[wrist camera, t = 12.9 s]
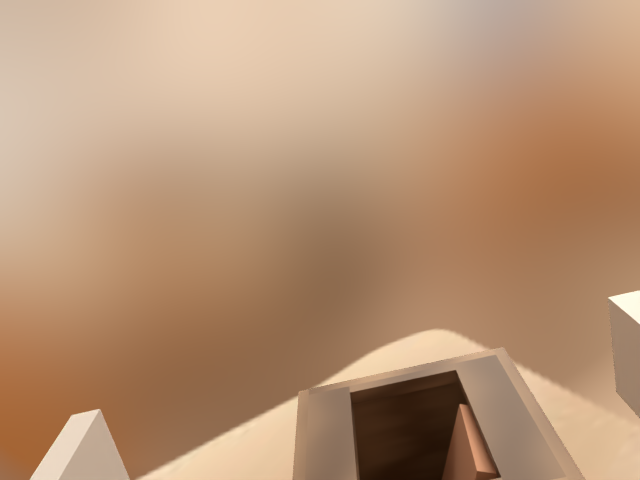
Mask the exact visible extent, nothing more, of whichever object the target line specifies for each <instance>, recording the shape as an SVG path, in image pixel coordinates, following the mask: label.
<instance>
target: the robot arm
mask: <svg viewBox="0 0 640 480" xmlns="http://www.w3.org/2000/svg"><path fill="white" fill-rule="evenodd" d="M608 303H609V314H610V325H611V336H612V347H613V359H614V369H615V381H616V392H617V393H618V394H619V395H620V397H621V398H622V399H623V400H624V401H625V402H626V403H627V404H628V405H629V407H630V408H631V409H632V410H633V411H634V412H635V413H636V415H637V416H638V417H639V418H640V291H636V292H631V293H626V294H622V295H618V296H613V297H609V298H608ZM30 480H130V479H129V476H128V474H127V472H126V469H125V467H124V465H123V462H122V460H121V458H120V455H119V453H118V450H117V448H116V446H115V443H114V441H113V439H112V436H111V434H110V432H109V430H108V427H107V424H106V422H105V420H104V418H103V415H102V413H101V410H100V409H98V410H93V411H89V412H84V413H80V414H75V415H72V416H71V417H70V419H69V421H68V422H67V423H66V425H65V427H64V428H63V430H62V431H61V433H60V434H59V436H58V437H57V439H56V440H55V442H54V443H53V445H52V446H51V448H50V450H49V451H48V452H47V454H46V456H45V457H44V459H43V460H42V462H41V463H40V465H39V466H38V468H37V469H36V471H35V473H34V474H33V476H32V477H31V478H30Z"/></svg>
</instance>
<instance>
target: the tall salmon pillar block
mask: <svg viewBox="0 0 640 480" xmlns="http://www.w3.org/2000/svg"><path fill="white" fill-rule="evenodd" d="M496 478H498V476H497V474H496V471H495V469H494V466H493V464H492V462H491V459H490V457H489V454H488V452H487V450H486V447H485V445H484V442H483V440H482V438H481V435H480V433H479V430H478V428H477V426H476V423H475V421H474V418H473V416H472V413H471V411H470V409H469V406H468V405H463V404H459V408H458V412H457V417H456V421H455V425H454V429H453V434H452V438H451V442H450V446H449V451H448V455H447V459H446V464H445V468H444V472H443V476H442V480H491V479H496Z"/></svg>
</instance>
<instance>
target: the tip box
mask: <svg viewBox="0 0 640 480" xmlns="http://www.w3.org/2000/svg"><path fill="white" fill-rule="evenodd" d="M459 404H463V405H468V406H469V409H470V411H471V413H472V416H473V418H474V421H475V423H476V426H477V428H478V430H479V433H480V435H481V438H482V440H483V442H484V445H485V447H486V450H487V452H488V454H489V457H490V459H491V462H492V464H493V466H494V469H495V471H496V474H497V476H498V478H496V479H491V480H585V478H584V477H583V475H582V473H581V472H580V470H579V468H578V467H577V465H576V464H575V462H574V460H573V459H572V457H571V456H570V454H569V452H568V451H567V449H566V447H565V446H564V444H563V443H562V441H561V439H560V438H559V436H558V435H557V433H556V431H555V430H554V428H553V426H552V425H551V423H550V422H549V420H548V418H547V417H546V415H545V413H544V412H543V410H542V409H541V407H540V405H539V404H538V402H537V401H536V399H535V397H534V396H533V394H532V392H531V391H530V389H529V388H528V386H527V384H526V383H525V381H524V380H523V378H522V376H521V375H520V373H519V371H518V370H517V368H516V367H515V365H514V363H513V362H512V360H511V359H510V357H509V355H508V354H507V352H506V350H505V349H504V347H501V348H497V349H492V350H487V351H483V352H478V353H473V354H469V355H464V356H459V357H455V358H450V359H446V360H441V361H436V362H432V363H427V364H423V365H418V366H413V367H409V368H404V369H400V370H395V371H390V372H386V373H381V374H377V375H372V376H367V377H363V378H358V379H354V380H349V381H344V382H340V383H335V384H330V385H326V386H321V387H317V388H312V389H308V390H303V391H299V397H298V411H297V425H296V439H295V453H294V468H293V480H442V476H443V472H444V468H445V464H446V459H447V455H448V451H449V446H450V442H451V438H452V434H453V429H454V425H455V421H456V417H457V412H458V408H459Z"/></svg>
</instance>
